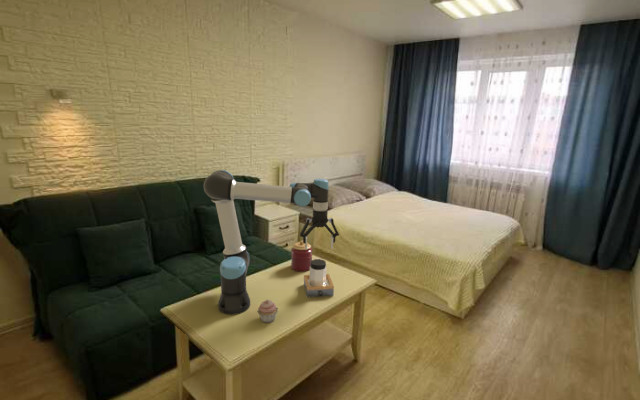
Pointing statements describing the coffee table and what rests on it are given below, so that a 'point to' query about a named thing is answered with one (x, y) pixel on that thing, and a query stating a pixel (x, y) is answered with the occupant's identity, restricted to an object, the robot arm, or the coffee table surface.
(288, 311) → the coffee table surface
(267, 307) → the cupcake
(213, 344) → the coffee table surface
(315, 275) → the jar
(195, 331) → the coffee table surface
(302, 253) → the canister
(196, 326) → the coffee table surface
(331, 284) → the small square box
